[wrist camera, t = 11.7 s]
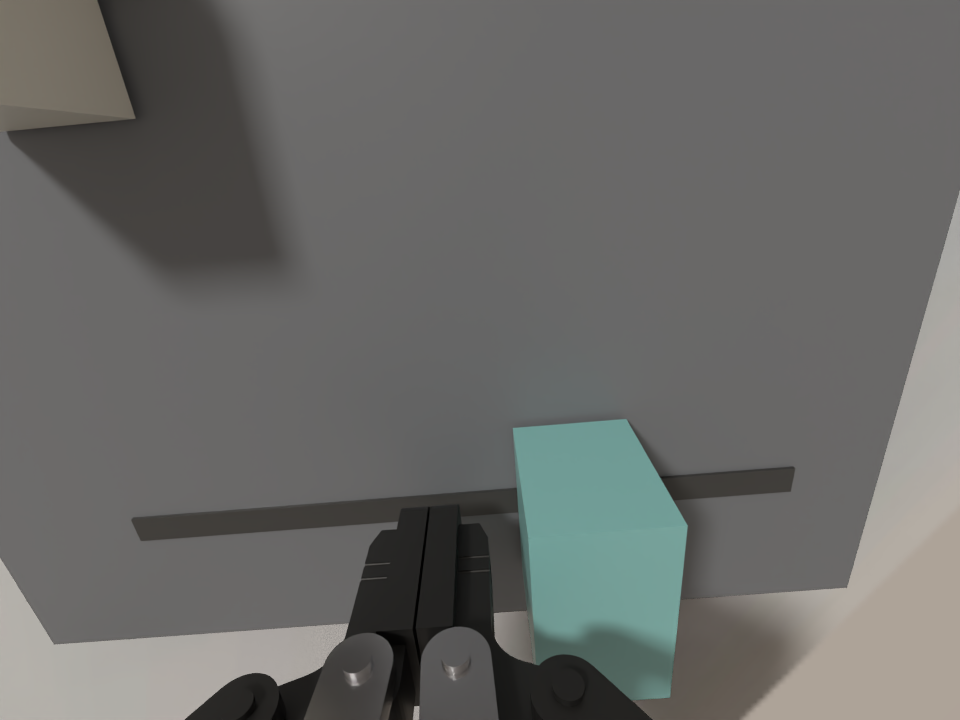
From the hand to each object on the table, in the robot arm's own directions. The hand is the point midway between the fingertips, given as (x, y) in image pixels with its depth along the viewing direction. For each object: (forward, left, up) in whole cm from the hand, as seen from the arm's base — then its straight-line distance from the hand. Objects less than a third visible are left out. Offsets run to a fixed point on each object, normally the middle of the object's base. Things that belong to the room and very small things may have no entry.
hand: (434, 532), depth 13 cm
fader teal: (-4, 0, -1) cm, 4 cm away
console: (0, -6, -4) cm, 8 cm away
